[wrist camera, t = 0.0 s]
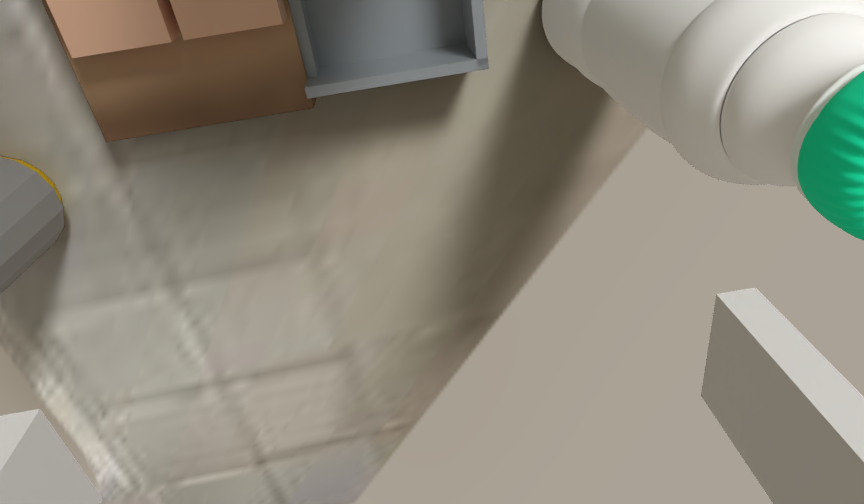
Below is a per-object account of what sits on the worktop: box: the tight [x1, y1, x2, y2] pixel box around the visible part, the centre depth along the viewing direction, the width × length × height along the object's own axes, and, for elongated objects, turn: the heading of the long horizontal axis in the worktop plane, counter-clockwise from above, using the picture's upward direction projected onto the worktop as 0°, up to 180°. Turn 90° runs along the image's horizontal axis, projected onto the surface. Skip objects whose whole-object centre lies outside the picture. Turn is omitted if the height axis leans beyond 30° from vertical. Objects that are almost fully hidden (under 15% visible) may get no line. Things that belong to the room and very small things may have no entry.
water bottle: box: [542, 0, 864, 240], centre depth 24 cm, size 7×7×25 cm
